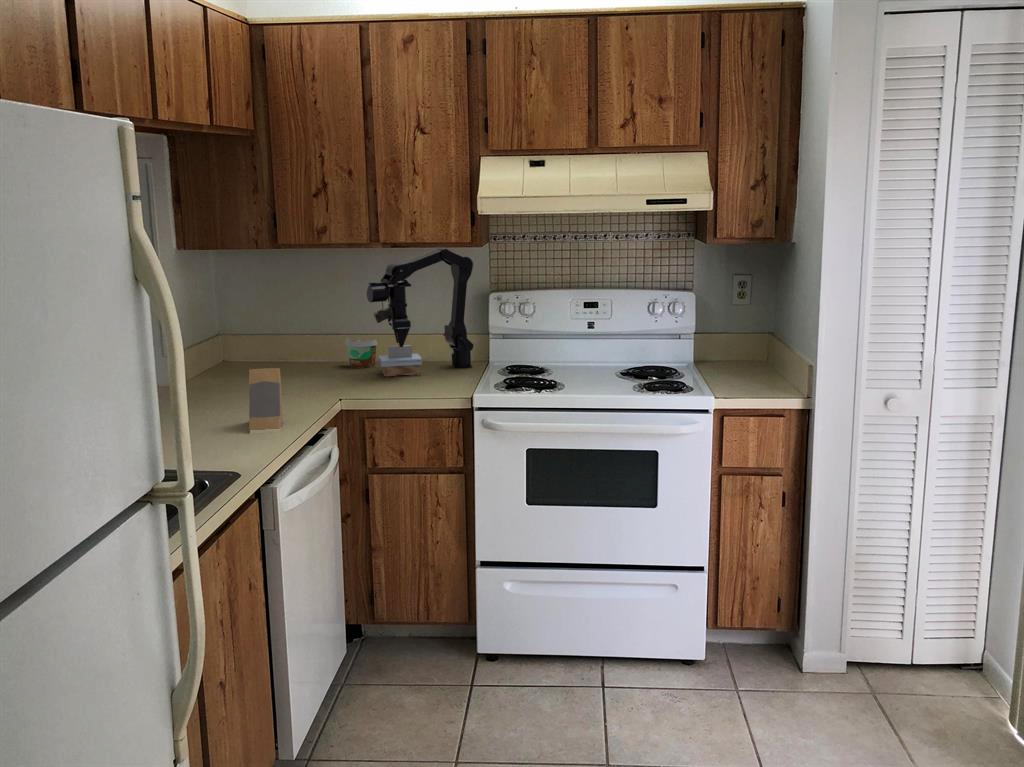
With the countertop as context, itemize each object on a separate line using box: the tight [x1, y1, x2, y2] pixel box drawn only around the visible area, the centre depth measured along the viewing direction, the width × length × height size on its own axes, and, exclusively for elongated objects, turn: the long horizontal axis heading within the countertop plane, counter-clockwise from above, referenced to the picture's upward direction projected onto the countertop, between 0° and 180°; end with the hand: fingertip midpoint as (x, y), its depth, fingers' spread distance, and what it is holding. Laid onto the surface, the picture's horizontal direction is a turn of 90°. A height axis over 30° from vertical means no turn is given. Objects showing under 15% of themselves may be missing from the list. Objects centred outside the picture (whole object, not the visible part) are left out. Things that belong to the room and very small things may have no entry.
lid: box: [378, 344, 423, 368], centre depth 323 cm, size 14×11×6 cm
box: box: [381, 365, 420, 377], centre depth 324 cm, size 12×9×5 cm
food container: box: [345, 338, 379, 369], centre depth 337 cm, size 12×6×10 cm, turn 73°
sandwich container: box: [248, 367, 284, 431], centre depth 253 cm, size 9×15×15 cm, turn 11°
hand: (399, 344), depth 323 cm, fingers open, 9 cm apart
